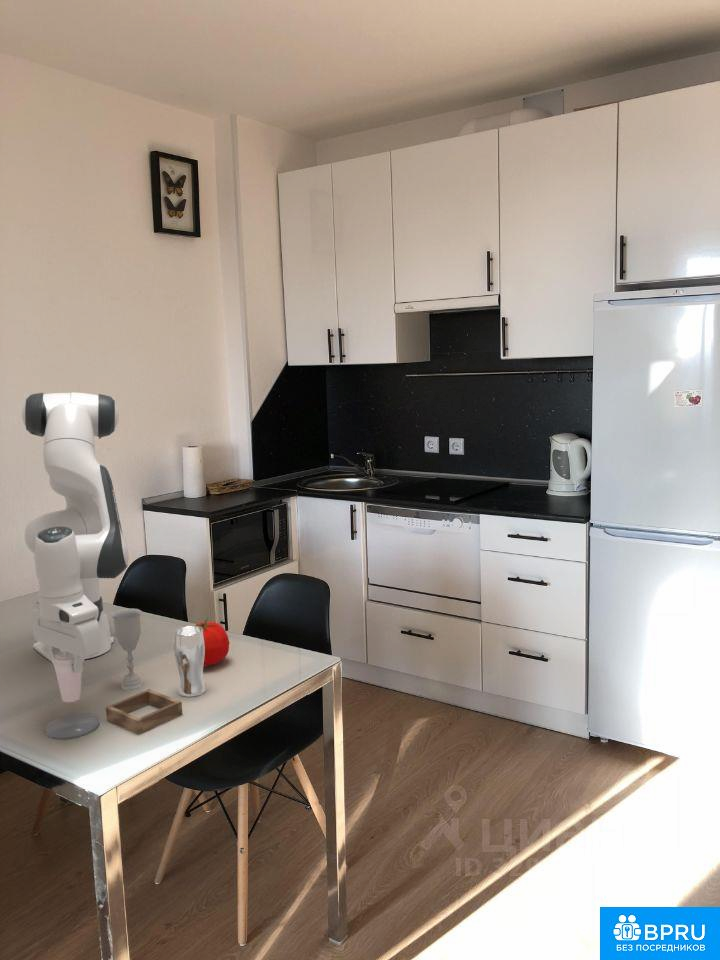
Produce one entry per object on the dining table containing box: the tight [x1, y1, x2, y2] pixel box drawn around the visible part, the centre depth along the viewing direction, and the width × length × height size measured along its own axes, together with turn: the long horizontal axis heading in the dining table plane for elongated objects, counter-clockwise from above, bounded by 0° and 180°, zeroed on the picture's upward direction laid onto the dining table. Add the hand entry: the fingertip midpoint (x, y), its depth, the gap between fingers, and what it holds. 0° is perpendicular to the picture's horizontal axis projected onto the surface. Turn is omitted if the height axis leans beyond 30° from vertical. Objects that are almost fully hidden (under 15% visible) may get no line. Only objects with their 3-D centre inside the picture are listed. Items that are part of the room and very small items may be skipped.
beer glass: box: [173, 625, 206, 698], centre depth 192 cm, size 7×7×15 cm
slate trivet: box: [44, 712, 101, 740], centre depth 177 cm, size 11×11×1 cm
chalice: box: [111, 608, 144, 690], centre depth 196 cm, size 7×7×18 cm
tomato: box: [194, 618, 230, 667], centre depth 208 cm, size 12×12×11 cm
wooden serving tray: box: [105, 689, 183, 735], centre depth 180 cm, size 12×12×3 cm
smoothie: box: [51, 651, 83, 703], centre depth 175 cm, size 6×6×14 cm
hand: (68, 668), depth 175 cm, fingers closed on smoothie, 6 cm apart
